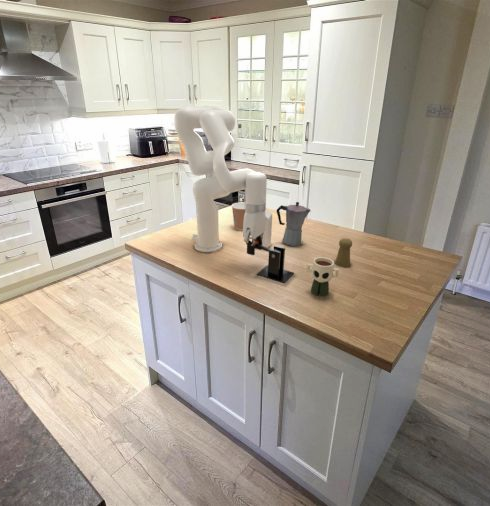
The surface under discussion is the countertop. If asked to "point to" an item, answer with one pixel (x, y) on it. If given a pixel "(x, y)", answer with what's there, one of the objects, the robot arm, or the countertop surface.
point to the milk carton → (267, 229)
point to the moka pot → (293, 223)
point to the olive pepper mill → (344, 253)
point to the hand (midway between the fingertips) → (254, 251)
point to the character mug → (322, 275)
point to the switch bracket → (276, 266)
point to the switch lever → (264, 247)
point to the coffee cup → (238, 214)
